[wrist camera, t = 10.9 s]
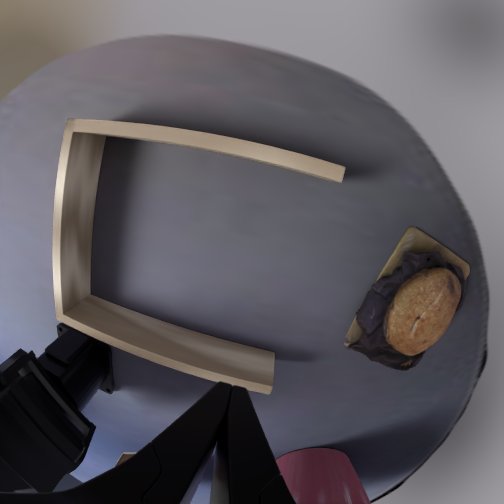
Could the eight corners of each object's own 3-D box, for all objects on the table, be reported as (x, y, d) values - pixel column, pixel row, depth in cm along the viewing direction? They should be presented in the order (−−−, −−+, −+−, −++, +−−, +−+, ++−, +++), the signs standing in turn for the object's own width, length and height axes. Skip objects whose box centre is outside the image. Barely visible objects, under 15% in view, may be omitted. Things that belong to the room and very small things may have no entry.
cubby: (272, 360, 21) (269, 394, 17) (83, 299, 21) (56, 319, 18) (331, 168, 17) (345, 167, 13) (100, 125, 17) (67, 119, 14)
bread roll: (402, 217, 18) (426, 226, 14) (472, 267, 18) (497, 282, 14) (329, 339, 21) (336, 368, 17) (405, 369, 21) (418, 395, 17)
